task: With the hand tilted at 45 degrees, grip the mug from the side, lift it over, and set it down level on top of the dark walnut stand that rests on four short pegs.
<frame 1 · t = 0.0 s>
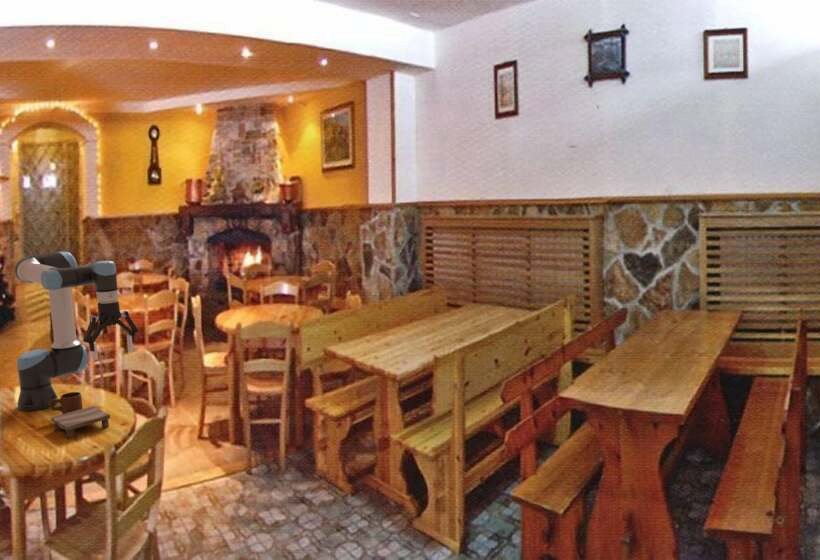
hand: (113, 355, 252), 28 cm above the table, tool pointing down, fingers open, 13 cm apart
mug: (67, 418, 263), on the table
peg stand: (81, 428, 252), on the table
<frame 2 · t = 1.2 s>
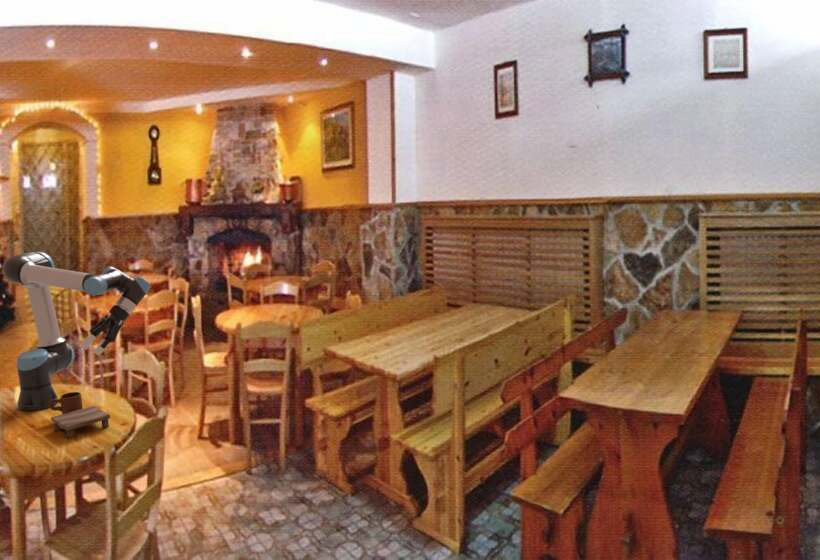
hand: (89, 351, 267), 26 cm above the table, tool tilted 45°, fingers open, 13 cm apart
nothing on the table moved.
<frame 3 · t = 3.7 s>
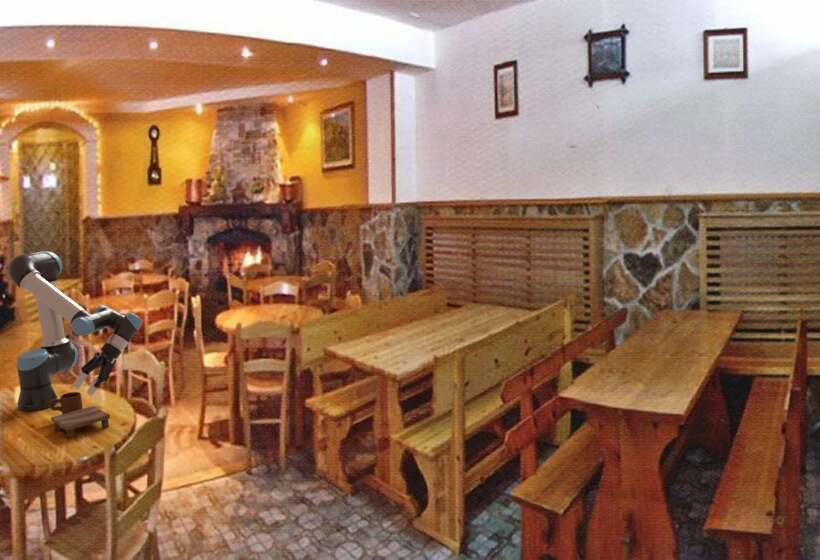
hand: (81, 390, 265), 10 cm above the table, tool tilted 45°, fingers open, 13 cm apart
nothing on the table moved.
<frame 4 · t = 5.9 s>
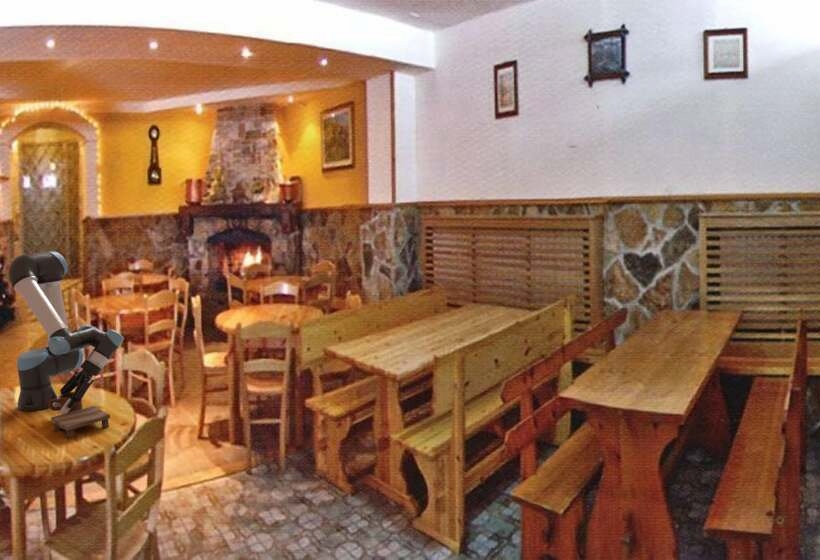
hand: (57, 411, 260), 4 cm above the table, tool tilted 45°, fingers open, 8 cm apart
mug: (67, 418, 263), on the table, touching gripper
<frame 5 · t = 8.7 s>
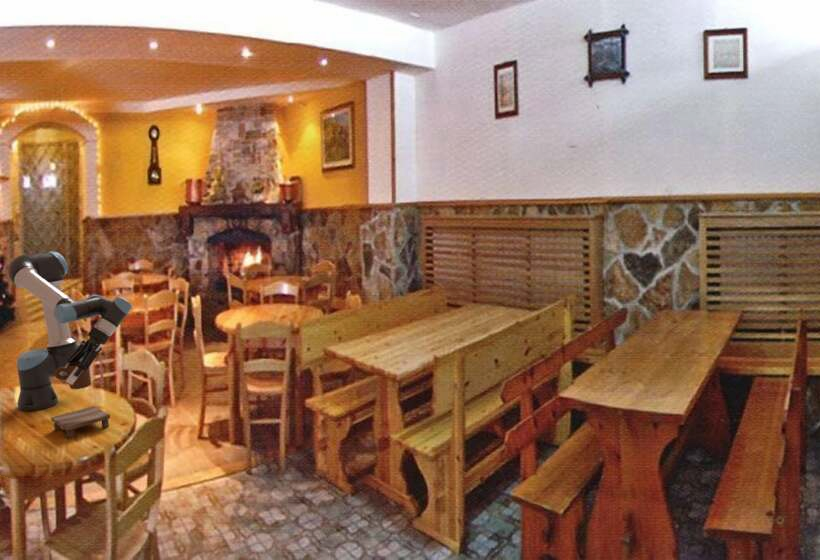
hand: (64, 381, 250), 19 cm above the table, tool tilted 45°, fingers closed on mug, 8 cm apart
mug: (74, 388, 254), point 15 cm above the table, touching gripper
when the fingers open (10 cm above the table, at t = 11.2 s): mug drops 1 cm, resting on peg stand.
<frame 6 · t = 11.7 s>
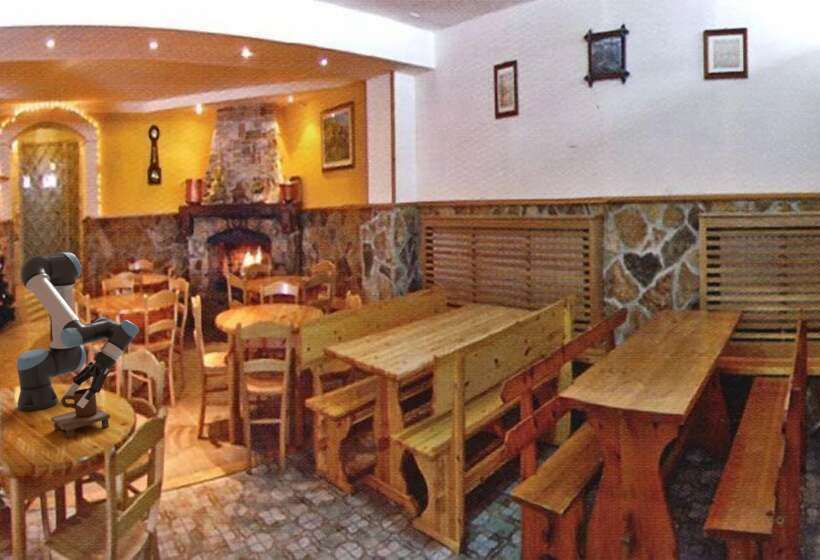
hand: (72, 402, 249), 11 cm above the table, tool tilted 45°, fingers open, 13 cm apart
mug: (80, 416, 252), point 5 cm above the table, touching peg stand
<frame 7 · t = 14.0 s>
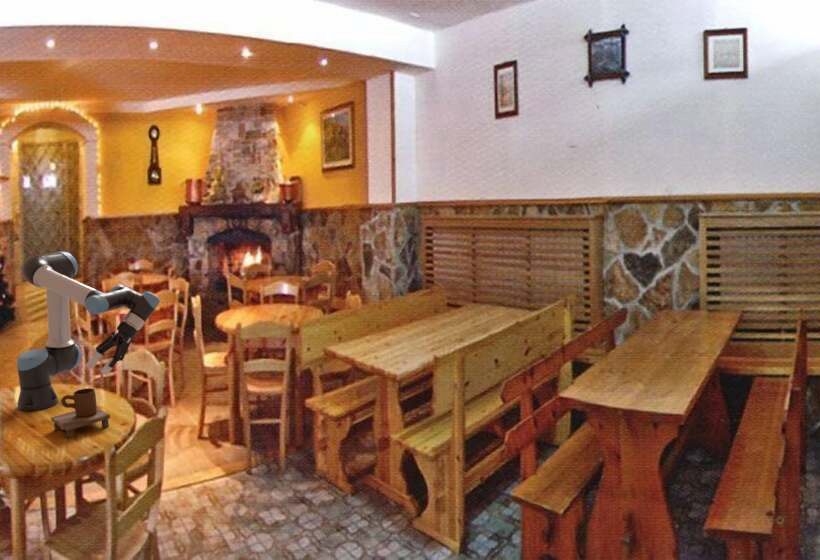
hand: (96, 370, 255), 21 cm above the table, tool tilted 45°, fingers open, 13 cm apart
nothing on the table moved.
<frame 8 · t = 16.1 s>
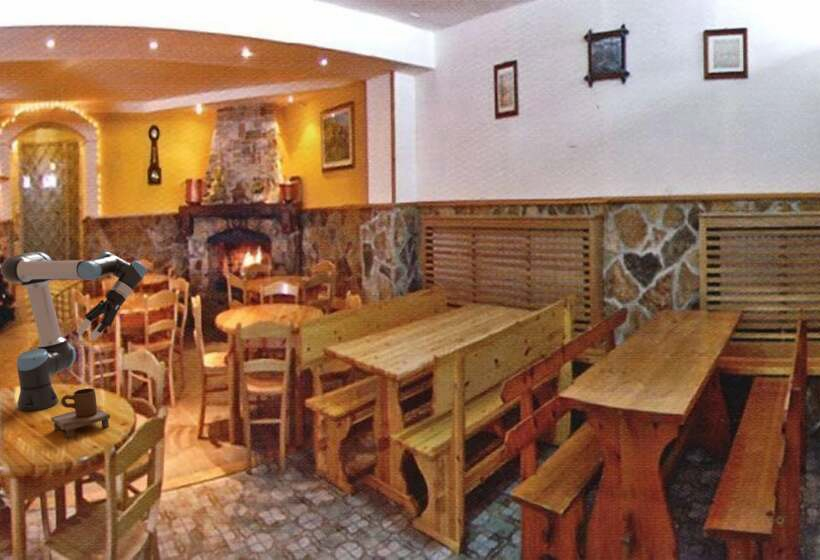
hand: (85, 335, 264), 33 cm above the table, tool tilted 45°, fingers open, 13 cm apart
nothing on the table moved.
at the end: mug inside the target area on the peg stand (0.4 cm from its centre), point 4.8 cm above the peg stand's base; mug tilted 0°; the gripper is holding nothing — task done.
